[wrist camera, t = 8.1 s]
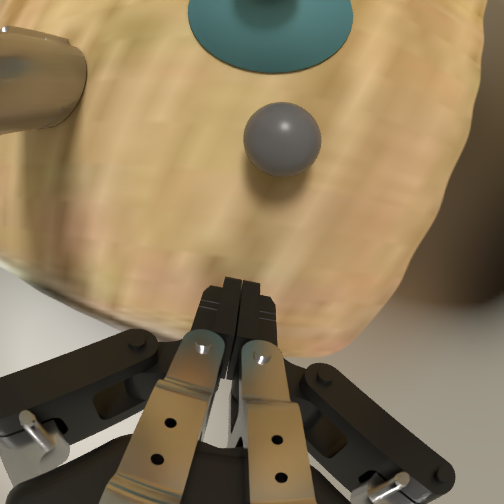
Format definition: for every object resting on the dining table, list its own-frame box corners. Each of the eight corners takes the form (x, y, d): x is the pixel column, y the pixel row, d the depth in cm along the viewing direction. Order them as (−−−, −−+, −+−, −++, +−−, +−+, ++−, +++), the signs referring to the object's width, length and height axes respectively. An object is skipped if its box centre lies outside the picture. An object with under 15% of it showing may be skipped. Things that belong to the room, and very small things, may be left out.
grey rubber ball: (217, 150, 17) (239, 117, 21) (271, 203, 20) (282, 163, 23) (281, 103, 14) (292, 79, 17) (336, 170, 16) (335, 133, 20)
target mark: (171, -20, 14) (170, -21, 14) (314, -55, 12) (315, -56, 12) (217, 95, 20) (217, 94, 19) (375, 56, 17) (376, 56, 17)
